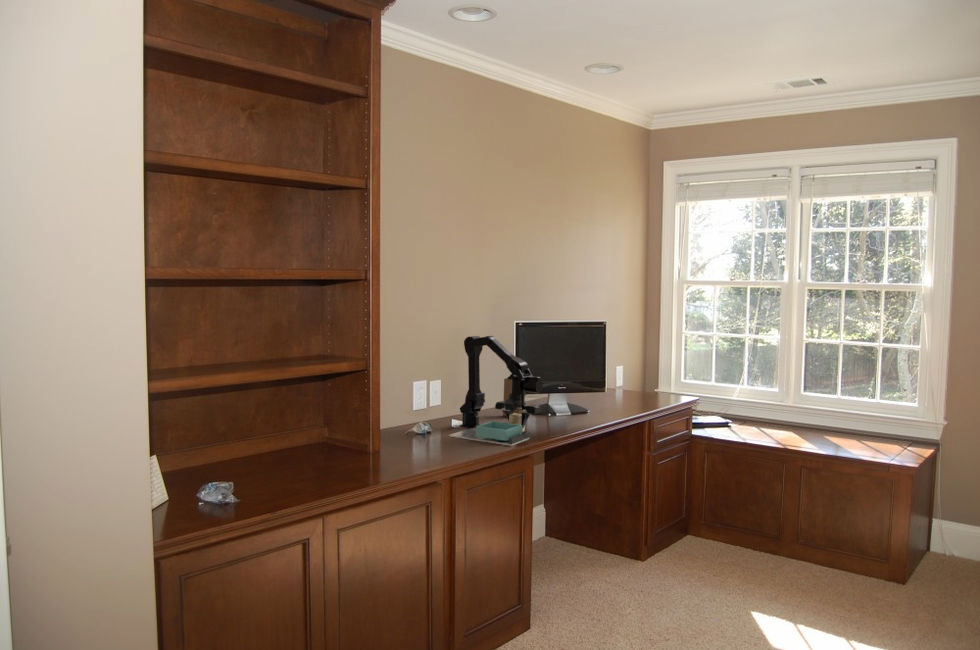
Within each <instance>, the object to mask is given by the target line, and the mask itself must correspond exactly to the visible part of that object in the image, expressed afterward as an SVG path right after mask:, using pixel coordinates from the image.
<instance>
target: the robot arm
mask: <svg viewBox="0 0 980 650" xmlns="http://www.w3.org/2000/svg"><path fill="white" fill-rule="evenodd" d="M463 341H464V342H463V347H464V351H465V353H466V355H467V357H468V358H467V359H468V361H467V362H468V367H467V368H468V390H467V392H466V395H465V399H464V403H463V404H462V405H461V406H460V407H459V412H460V413H461V414H462V419H461V420H462V424H460V427H465V428H470V429H474V428H476V426H479V425H481V424H480V416H479V412H481V409H482V408H483V406H484V405H485V402H486V400H485V396H486V393H485V392H482V391H481V386H480V385H481V383H480V379H481V378H480V376H481V375H480V372H481V371H480V356H481V353H482V352H483V346H486V347H488V348H489V349H490V350H491V351H492V352H493V353H494V354H496V356H497V357H498V358H500V360H502V361H503V362H504V364H505V366H506V368H507V370H508V371H509V372H510V375H509V376H508V377H507V379H510V380H512V387H511V393H510V396H509V398H508V399H507V400H506V401H504V400H501V401H497V402H496V403H495V406H494V409H495V410H501V412H502V413H503V412H504V413H505V414H506V415H507V417H506V418H507V421H508V422H509V415H511V414H514V411H515V410H516V409H519V410H524V412H523V413H521V414H522V424H521V425H522V428H524V426H525V427H526V423H527V421H528V419H529V417H530V415H531V414H532V415H533V414H538V413H540V412H541V407H540V405H539V404H528V405H527V403H526V401H525V400H526V399H525V396H527V393H534V394H541V393H542V391H543V387H544V385H543V382H542V380H541V377H540V376H534V375H533V374H532V372H531V371H530V368H529V365H528V363H527V362H526V361H525V360H523V359H522V358H520V357H518V356H515V355H514V354H512V353H511V351H509V349H507V348H506V347H505V346H504V345H503V344H502V343H501V342H500V341H498V340H497V338H496V336H494V335H487V336H483V337H482V336H480V335H472V336H471V335H470V336H467V337H465V338H464V340H463ZM520 407H521V408H520Z"/></svg>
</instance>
